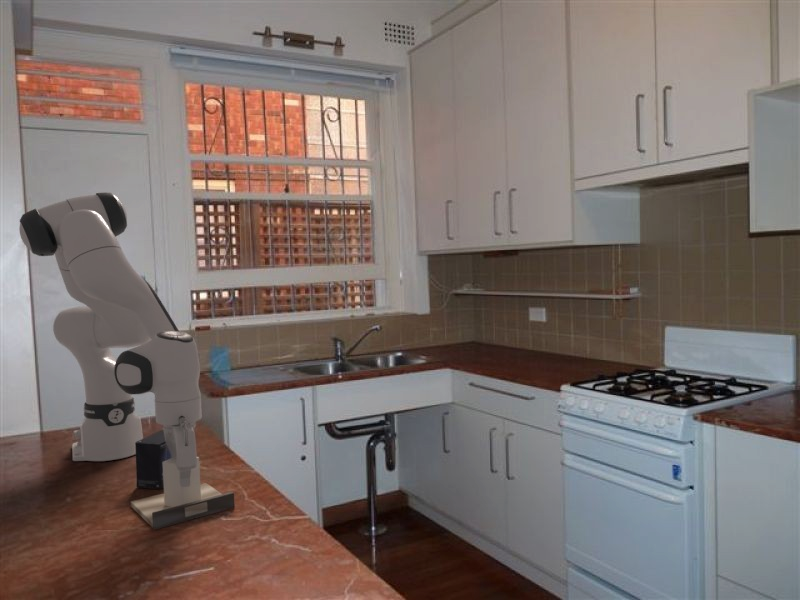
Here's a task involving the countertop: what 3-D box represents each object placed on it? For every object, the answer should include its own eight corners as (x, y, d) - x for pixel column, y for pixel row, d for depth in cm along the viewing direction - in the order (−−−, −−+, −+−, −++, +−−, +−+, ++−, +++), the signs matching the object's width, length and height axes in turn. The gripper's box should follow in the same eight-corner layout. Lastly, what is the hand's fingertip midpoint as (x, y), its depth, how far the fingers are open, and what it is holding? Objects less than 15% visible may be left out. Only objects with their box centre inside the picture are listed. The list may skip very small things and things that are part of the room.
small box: (161, 490, 141) (159, 443, 140) (135, 488, 142) (132, 442, 141) (187, 473, 151) (185, 430, 150) (162, 472, 152) (160, 429, 152)
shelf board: (130, 506, 132) (130, 492, 132) (206, 487, 142) (205, 474, 142) (155, 530, 120) (154, 514, 120) (235, 507, 130) (234, 493, 130)
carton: (164, 505, 129) (162, 461, 129) (183, 496, 134) (181, 454, 133) (183, 508, 127) (181, 464, 127) (201, 499, 132) (200, 456, 131)
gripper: (203, 421, 121) (206, 492, 122) (187, 399, 140) (190, 461, 141) (168, 425, 118) (171, 498, 119) (157, 403, 137) (160, 466, 138)
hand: (181, 478), depth 130 cm, fingers open, 8 cm apart
